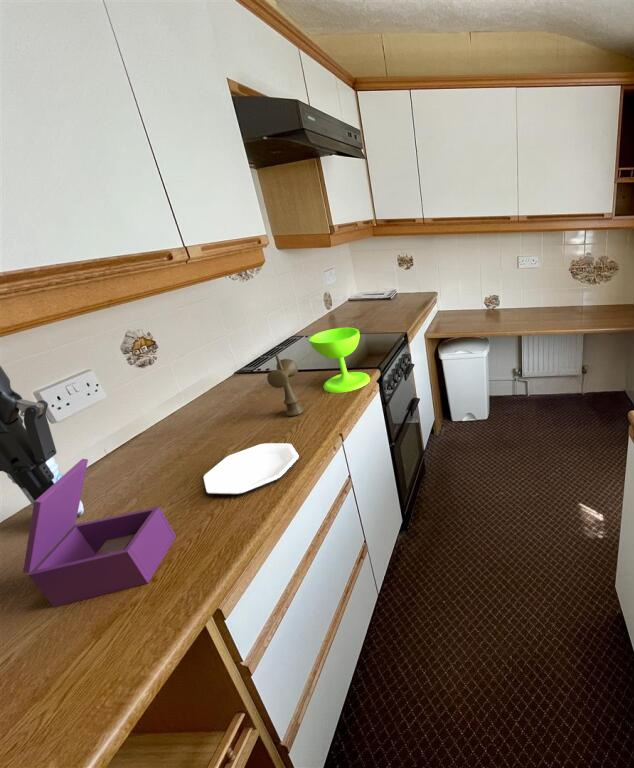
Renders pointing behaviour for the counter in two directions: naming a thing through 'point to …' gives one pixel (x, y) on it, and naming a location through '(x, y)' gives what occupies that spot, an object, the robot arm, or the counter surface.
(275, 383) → the kendama
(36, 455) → the robot arm
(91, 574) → the purple hinged box
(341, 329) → the wineglass
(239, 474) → the plate
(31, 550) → the lid
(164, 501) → the counter surface
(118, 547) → the block
